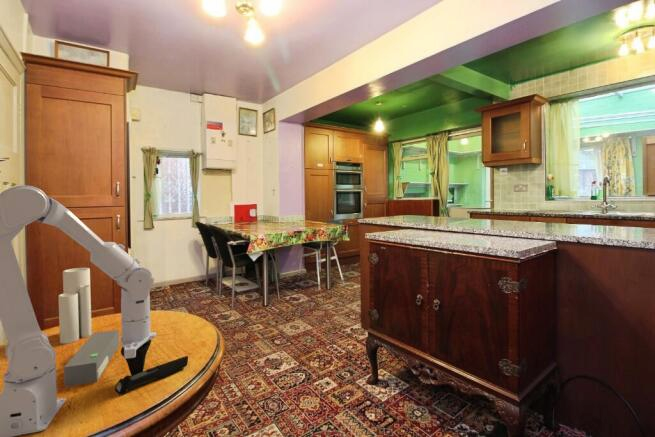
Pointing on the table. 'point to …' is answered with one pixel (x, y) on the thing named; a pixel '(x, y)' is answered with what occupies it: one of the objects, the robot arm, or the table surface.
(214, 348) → the table surface
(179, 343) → the table surface
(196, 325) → the table surface
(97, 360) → the charging dock
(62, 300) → the vase
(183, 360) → the electric trimmer
